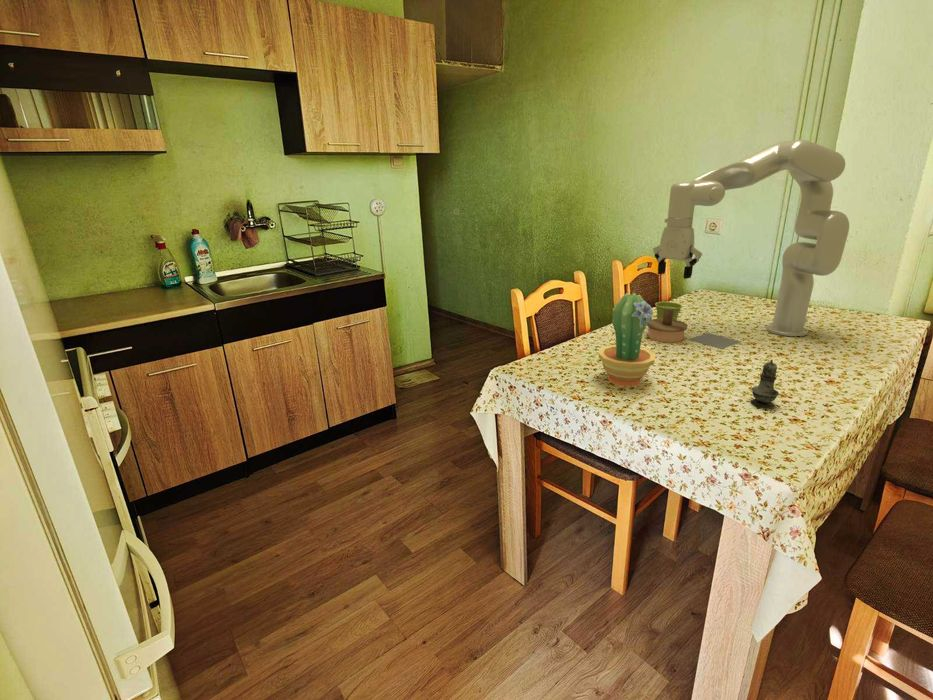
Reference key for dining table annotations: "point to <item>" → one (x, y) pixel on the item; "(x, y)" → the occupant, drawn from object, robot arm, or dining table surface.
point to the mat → (714, 340)
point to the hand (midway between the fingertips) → (673, 275)
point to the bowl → (665, 336)
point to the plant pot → (667, 305)
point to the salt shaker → (766, 387)
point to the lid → (667, 323)
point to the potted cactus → (628, 342)
